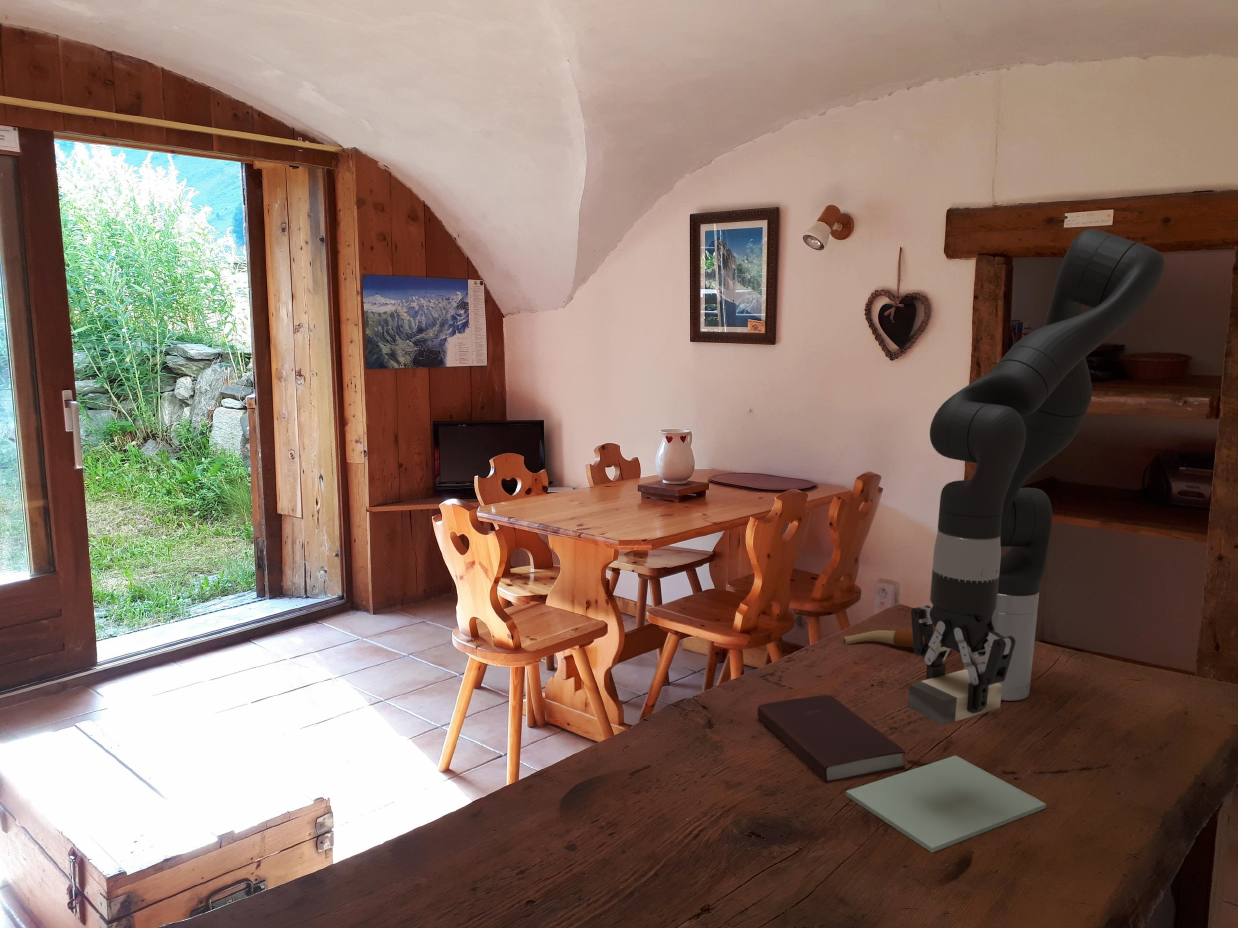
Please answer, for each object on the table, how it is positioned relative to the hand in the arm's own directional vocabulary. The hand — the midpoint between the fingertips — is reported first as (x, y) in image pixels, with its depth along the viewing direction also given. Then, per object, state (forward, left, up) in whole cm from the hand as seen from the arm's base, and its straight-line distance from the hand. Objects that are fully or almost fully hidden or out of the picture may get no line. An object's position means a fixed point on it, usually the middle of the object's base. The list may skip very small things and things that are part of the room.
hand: (954, 701), depth 115 cm
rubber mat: (0, 0, -13) cm, 13 cm away
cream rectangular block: (0, 0, -1) cm, 1 cm away
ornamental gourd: (-41, +34, -14) cm, 55 cm away
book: (-19, -2, -14) cm, 24 cm away
